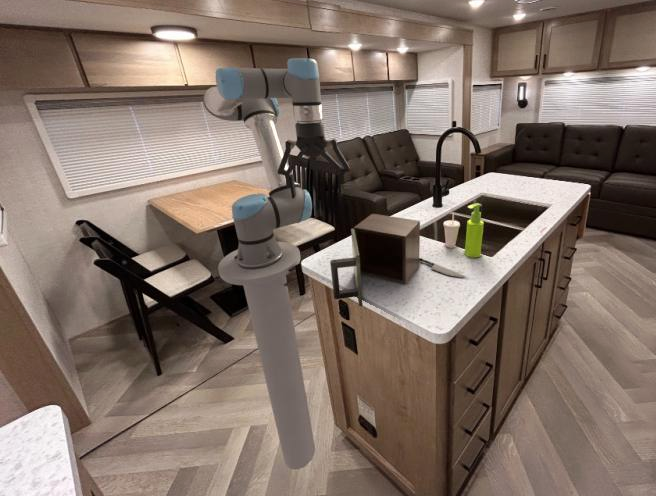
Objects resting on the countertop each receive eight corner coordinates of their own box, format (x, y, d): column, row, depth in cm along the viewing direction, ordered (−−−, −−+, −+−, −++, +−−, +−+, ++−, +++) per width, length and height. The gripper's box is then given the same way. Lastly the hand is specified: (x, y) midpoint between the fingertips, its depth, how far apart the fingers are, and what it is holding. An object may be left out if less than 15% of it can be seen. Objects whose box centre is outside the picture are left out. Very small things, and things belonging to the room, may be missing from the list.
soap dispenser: (459, 253, 121) (463, 204, 113) (472, 248, 125) (476, 200, 117) (471, 260, 117) (475, 208, 109) (483, 254, 120) (489, 204, 113)
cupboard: (405, 284, 103) (405, 236, 96) (356, 272, 109) (353, 227, 103) (419, 264, 114) (420, 220, 107) (374, 255, 120) (372, 213, 114)
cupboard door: (334, 309, 91) (329, 258, 85) (333, 276, 107) (328, 230, 101) (362, 306, 92) (359, 255, 86) (357, 273, 109) (354, 228, 102)
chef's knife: (462, 281, 104) (466, 277, 106) (462, 279, 103) (466, 274, 105) (414, 263, 115) (419, 259, 117) (414, 260, 114) (419, 256, 116)
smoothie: (449, 250, 123) (451, 217, 118) (439, 244, 128) (440, 211, 123) (462, 246, 126) (464, 213, 121) (451, 240, 131) (453, 208, 126)
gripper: (257, 124, 82) (271, 202, 91) (355, 122, 85) (359, 197, 93) (265, 121, 89) (277, 193, 97) (355, 119, 92) (359, 190, 100)
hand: (317, 196), depth 95 cm, fingers open, 13 cm apart
